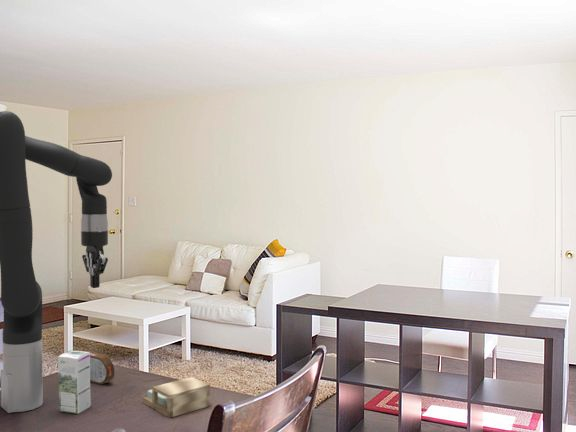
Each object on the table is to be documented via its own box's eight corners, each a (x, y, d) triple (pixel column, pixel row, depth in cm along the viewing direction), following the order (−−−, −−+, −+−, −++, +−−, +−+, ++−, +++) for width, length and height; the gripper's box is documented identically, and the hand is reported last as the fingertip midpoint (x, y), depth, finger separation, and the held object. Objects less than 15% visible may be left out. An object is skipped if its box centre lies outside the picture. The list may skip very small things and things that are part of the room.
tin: (115, 384, 167) (115, 355, 167) (106, 387, 164) (106, 358, 164) (81, 375, 175) (81, 347, 175) (72, 378, 172) (72, 350, 172)
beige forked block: (169, 417, 142) (169, 395, 142) (142, 403, 152) (142, 382, 152) (209, 405, 151) (209, 384, 150) (181, 392, 160) (181, 372, 160)
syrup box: (91, 406, 150) (91, 351, 149) (77, 414, 144) (76, 357, 144) (72, 404, 151) (72, 349, 151) (57, 412, 146) (57, 355, 145)
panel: (177, 415, 145) (177, 405, 145) (147, 399, 156) (147, 390, 156) (203, 407, 151) (203, 398, 150) (173, 392, 162) (173, 384, 162)
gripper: (73, 228, 174) (73, 286, 174) (91, 231, 164) (92, 292, 165) (96, 227, 179) (97, 283, 180) (116, 230, 169) (117, 289, 170)
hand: (95, 287), depth 172 cm, fingers closed
